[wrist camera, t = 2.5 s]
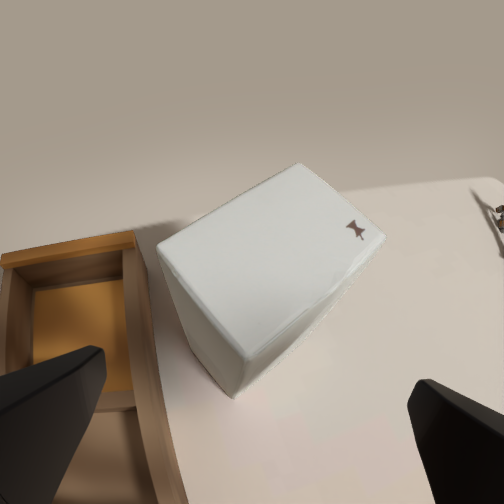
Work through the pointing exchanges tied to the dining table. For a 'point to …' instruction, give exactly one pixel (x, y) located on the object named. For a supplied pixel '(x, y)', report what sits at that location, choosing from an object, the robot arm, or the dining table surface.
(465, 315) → the dining table surface
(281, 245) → the skincare box
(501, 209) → the wooden post with brackets
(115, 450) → the wooden crate
